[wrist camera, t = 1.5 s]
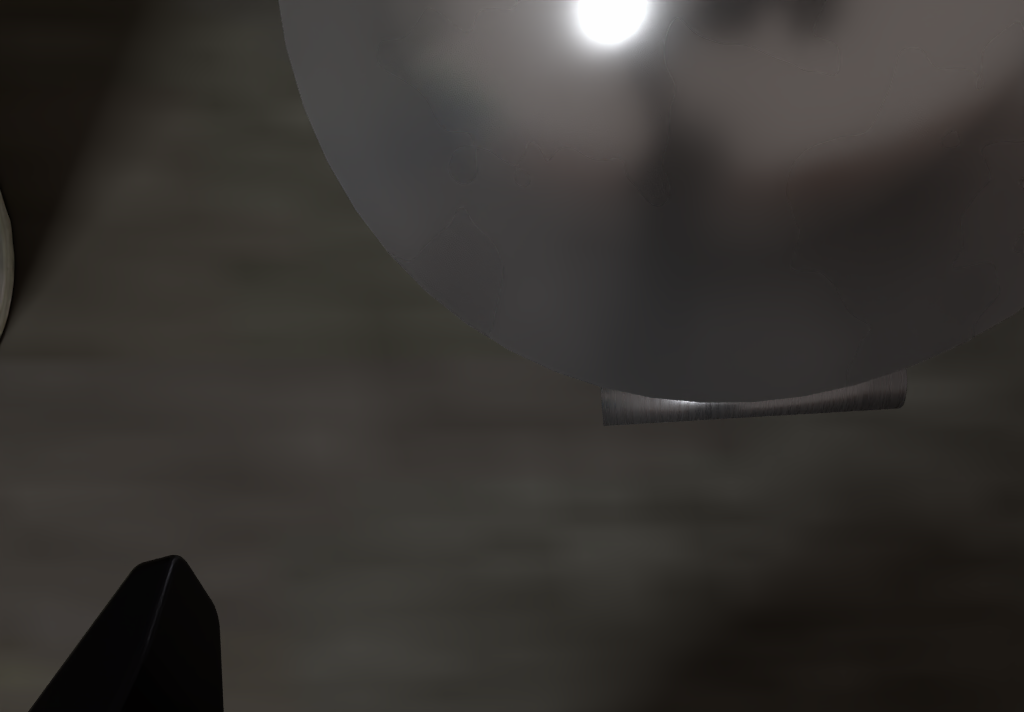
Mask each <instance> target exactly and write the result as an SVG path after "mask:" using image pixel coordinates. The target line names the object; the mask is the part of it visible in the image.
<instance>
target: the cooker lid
mask: <svg viewBox="0 0 1024 712" xmlns="http://www.w3.org/2000/svg"><path fill="white" fill-rule="evenodd" d="M278 1H279V7H280V13H281V19H282V25H283V31H284V37H285V44H286V48H287V52H288V55H289V59H290V62H291V65H292V69H293V72H294V76H295V79H296V83H297V86H298V89H299V93H300V96H301V100H302V103H303V106H304V109H305V111H306V113H307V116H308V118H309V120H310V123H311V125H312V127H313V130H314V132H315V134H316V137H317V139H318V141H319V144H320V146H321V148H322V151H323V153H324V155H325V157H326V160H327V162H328V163H329V165H330V167H331V169H332V170H333V172H334V174H335V175H336V177H337V179H338V181H339V182H340V184H341V186H342V187H343V189H344V191H345V193H346V194H347V196H348V198H349V199H350V201H351V203H352V204H353V206H354V208H355V210H356V211H357V212H358V214H359V215H360V216H361V218H362V219H363V220H364V221H365V223H366V224H367V225H368V227H369V228H370V229H371V231H372V232H373V233H374V235H375V236H376V237H377V238H378V240H379V241H380V242H381V244H382V245H383V246H384V248H385V249H386V250H387V252H388V253H389V254H390V255H391V256H392V257H393V258H394V259H395V260H396V261H397V262H398V263H399V264H400V265H401V266H402V267H403V268H404V269H405V270H406V271H407V272H408V273H409V274H410V275H411V277H412V278H413V279H414V280H415V281H416V282H417V283H418V284H419V285H420V286H421V287H422V288H423V289H424V290H425V291H426V292H428V293H429V294H430V295H431V296H433V297H434V298H435V299H436V300H438V301H439V302H440V303H441V304H442V305H444V306H445V307H446V308H447V309H449V310H450V311H451V312H452V313H454V314H455V315H456V316H457V317H459V318H460V319H461V320H462V321H464V322H465V323H466V324H468V325H469V326H471V327H473V328H474V329H476V330H478V331H479V332H481V333H482V334H484V335H486V336H487V337H489V338H490V339H492V340H494V341H495V342H497V343H498V344H500V345H502V346H503V347H505V348H506V349H508V350H510V351H512V352H514V353H516V354H518V355H521V356H523V357H525V358H527V359H529V360H531V361H533V362H535V363H538V364H540V365H542V366H544V367H546V368H548V369H550V370H552V371H555V372H558V373H561V374H564V375H567V376H570V377H573V378H576V379H579V380H582V381H585V382H588V383H591V384H594V385H597V386H600V387H601V398H602V412H603V424H604V426H610V425H627V424H644V423H661V422H678V421H695V420H712V419H728V418H745V417H762V416H779V415H796V414H813V413H830V412H847V411H864V410H881V409H898V408H901V407H902V406H903V404H904V401H905V398H906V391H907V372H906V368H909V367H911V366H914V365H916V364H918V363H920V362H923V361H925V360H927V359H930V358H932V357H934V356H936V355H939V354H941V353H943V352H945V351H948V350H950V349H952V348H954V347H957V346H959V345H961V344H963V343H965V342H966V341H968V340H970V339H972V338H973V337H975V336H977V335H979V334H981V333H982V332H984V331H986V330H988V329H989V328H991V327H993V326H995V325H996V324H998V323H1000V322H1002V321H1004V320H1005V319H1007V318H1009V317H1011V316H1012V315H1014V314H1015V313H1017V312H1018V311H1019V310H1021V309H1022V308H1024V0H278Z"/></svg>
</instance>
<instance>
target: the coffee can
mask: <svg viewBox="0 0 1024 712" xmlns="http://www.w3.org/2000/svg"><path fill="white" fill-rule="evenodd" d="M13 283H14V249H13V241H12V228H11V222H10V219H9V216H8V213H7V211H6V207H5V204H4V201H3V198H2V194H1V191H0V337H1V335H2V332H3V330H4V327H5V324H6V321H7V317H8V313H9V308H10V303H11V298H12V291H13Z"/></svg>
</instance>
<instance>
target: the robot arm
mask: <svg viewBox="0 0 1024 712" xmlns="http://www.w3.org/2000/svg"><path fill="white" fill-rule="evenodd" d="M28 712H224V708H223V686H222V665H221V644H220V625H219V619H218V615H217V611H216V609H215V606H214V604H213V602H212V600H211V599H210V597H209V596H208V594H207V593H206V591H205V590H204V588H203V586H202V585H201V583H200V582H199V580H198V579H197V577H196V575H195V574H194V572H193V571H192V569H191V568H190V566H189V565H188V563H187V562H186V561H185V560H184V559H183V558H182V557H181V556H178V555H170V556H166V557H162V558H158V559H154V560H151V561H147V562H143V563H141V564H139V565H137V566H136V567H135V568H134V569H133V570H132V571H131V572H130V574H129V575H128V576H127V578H126V579H125V580H124V582H123V583H122V585H121V586H120V587H119V589H118V590H117V591H116V593H115V594H114V595H113V597H112V598H111V600H110V601H109V602H108V604H107V605H106V606H105V608H104V609H103V610H102V612H101V613H100V615H99V616H98V617H97V619H96V620H95V621H94V623H93V624H92V625H91V627H90V628H89V630H88V631H87V632H86V634H85V635H84V636H83V638H82V639H81V640H80V642H79V643H78V644H77V646H76V647H75V649H74V650H73V651H72V653H71V654H70V655H69V657H68V658H67V659H66V661H65V662H64V664H63V665H62V666H61V668H60V669H59V670H58V672H57V673H56V674H55V676H54V677H53V679H52V680H51V681H50V683H49V684H48V685H47V687H46V688H45V689H44V691H43V692H42V694H41V695H40V696H39V698H38V699H37V700H36V702H35V703H34V704H33V706H32V707H31V709H30V710H29V711H28Z"/></svg>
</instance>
